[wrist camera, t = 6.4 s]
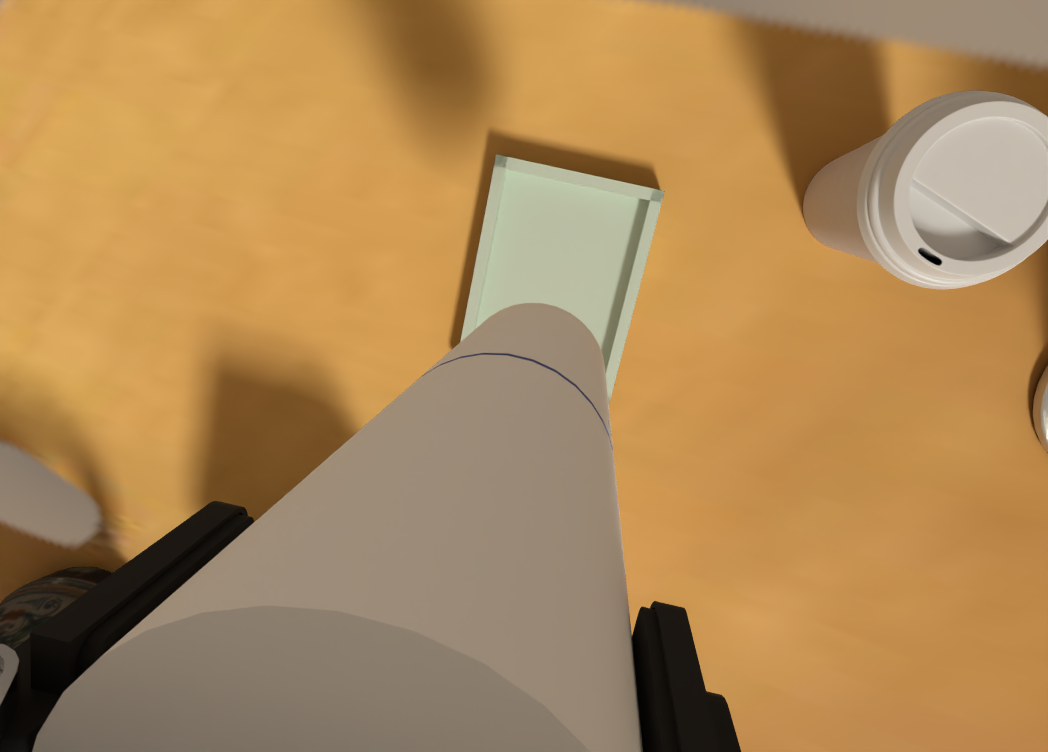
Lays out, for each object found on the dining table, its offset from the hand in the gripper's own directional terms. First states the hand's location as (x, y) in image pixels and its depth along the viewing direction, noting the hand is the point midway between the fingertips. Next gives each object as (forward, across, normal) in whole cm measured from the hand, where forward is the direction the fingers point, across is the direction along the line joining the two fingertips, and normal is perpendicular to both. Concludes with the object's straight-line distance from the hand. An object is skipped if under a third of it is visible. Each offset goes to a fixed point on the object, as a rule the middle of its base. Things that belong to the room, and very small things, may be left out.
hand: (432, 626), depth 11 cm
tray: (+37, 0, -3) cm, 38 cm away
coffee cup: (+38, -19, -12) cm, 44 cm away
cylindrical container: (+20, 0, 0) cm, 20 cm away
